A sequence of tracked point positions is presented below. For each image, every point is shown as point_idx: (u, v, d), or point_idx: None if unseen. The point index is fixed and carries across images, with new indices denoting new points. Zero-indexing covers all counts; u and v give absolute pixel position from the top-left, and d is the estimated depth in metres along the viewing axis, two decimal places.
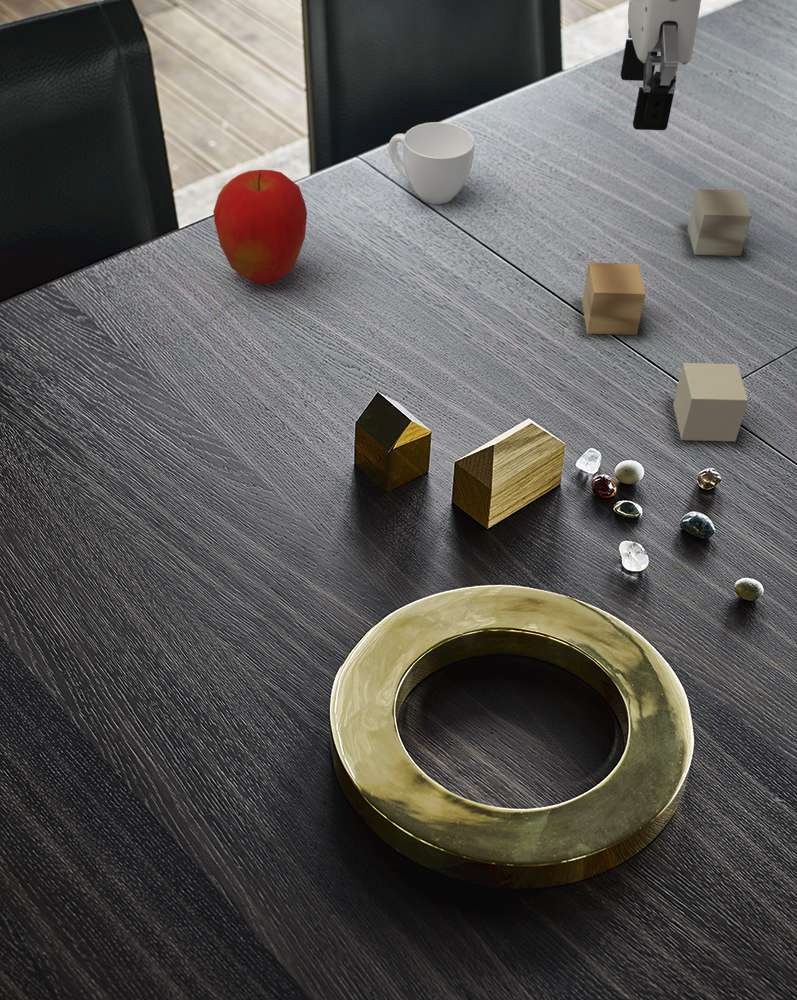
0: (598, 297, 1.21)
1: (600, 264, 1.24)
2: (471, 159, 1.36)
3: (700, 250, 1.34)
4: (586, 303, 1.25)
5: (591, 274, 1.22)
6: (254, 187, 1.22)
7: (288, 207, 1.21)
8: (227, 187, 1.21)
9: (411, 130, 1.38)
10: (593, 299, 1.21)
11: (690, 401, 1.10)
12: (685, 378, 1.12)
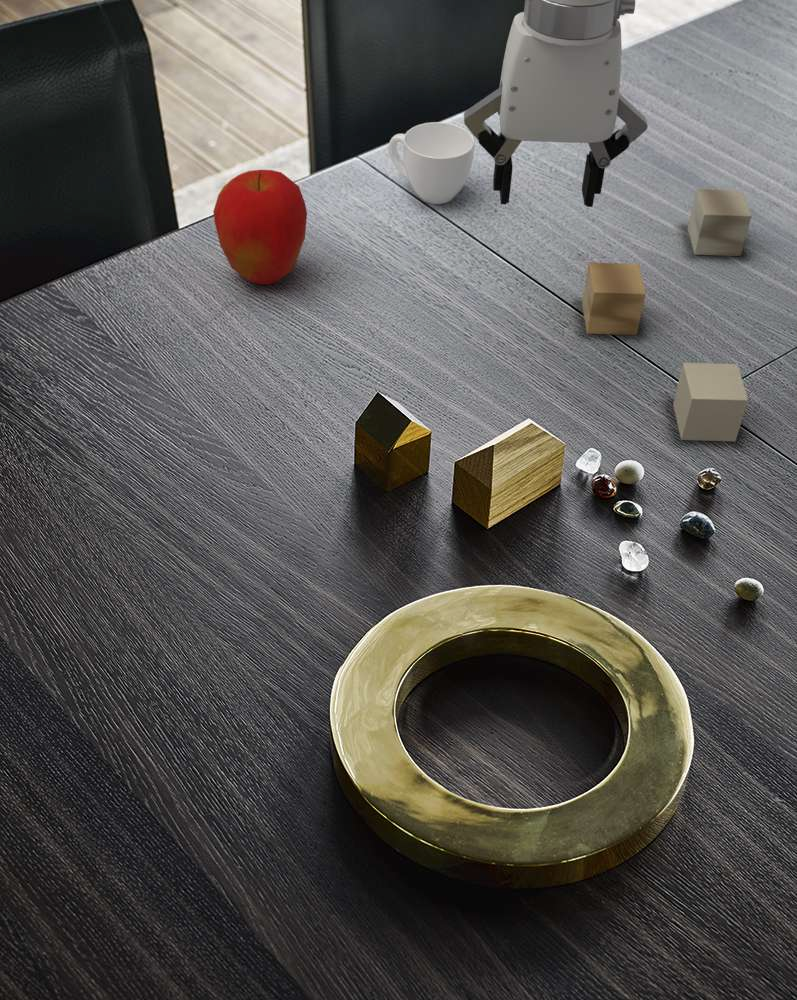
0: (598, 297, 1.21)
1: (600, 264, 1.24)
2: (471, 159, 1.36)
3: (700, 250, 1.34)
4: (586, 303, 1.25)
5: (591, 274, 1.22)
6: (254, 187, 1.22)
7: (288, 207, 1.21)
8: (227, 187, 1.21)
9: (411, 130, 1.38)
10: (593, 299, 1.21)
11: (690, 401, 1.10)
12: (685, 378, 1.12)
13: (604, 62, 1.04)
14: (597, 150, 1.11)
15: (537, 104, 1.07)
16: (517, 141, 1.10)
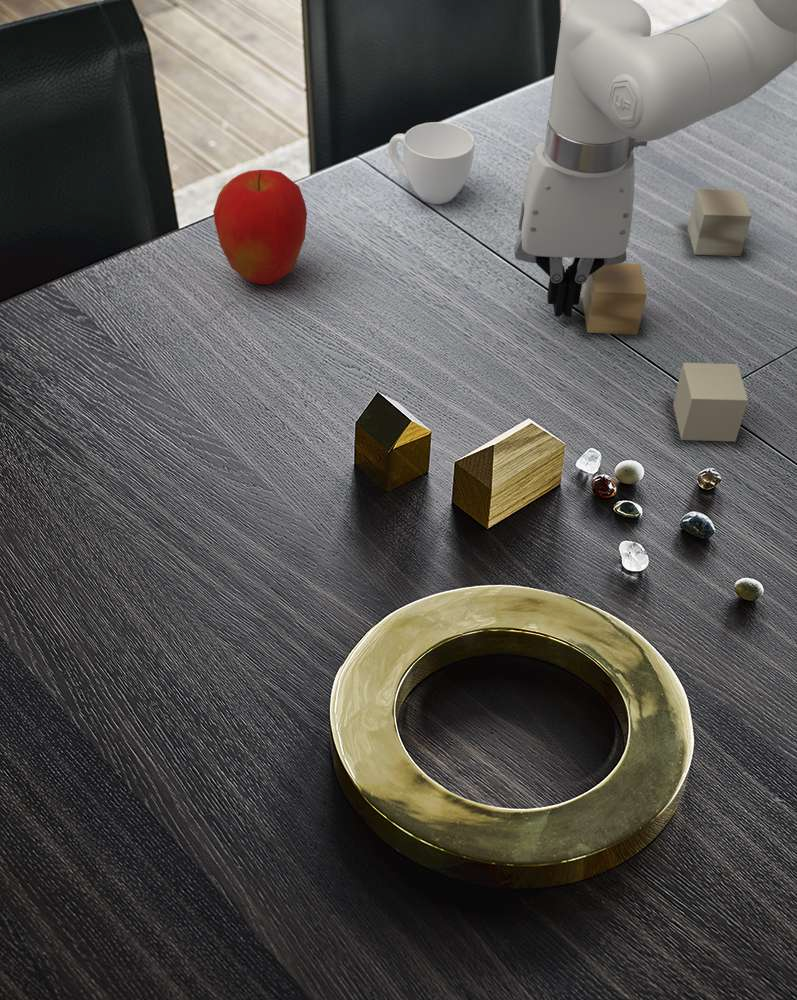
0: (599, 296, 1.21)
1: None
2: (471, 159, 1.36)
3: (700, 250, 1.34)
4: (587, 302, 1.24)
5: (593, 273, 1.22)
6: (254, 187, 1.22)
7: (288, 207, 1.21)
8: (227, 187, 1.21)
9: (411, 130, 1.38)
10: (594, 298, 1.21)
11: (690, 401, 1.10)
12: (685, 378, 1.12)
13: (619, 190, 1.13)
14: (584, 266, 1.20)
15: (556, 226, 1.15)
16: (559, 258, 1.19)
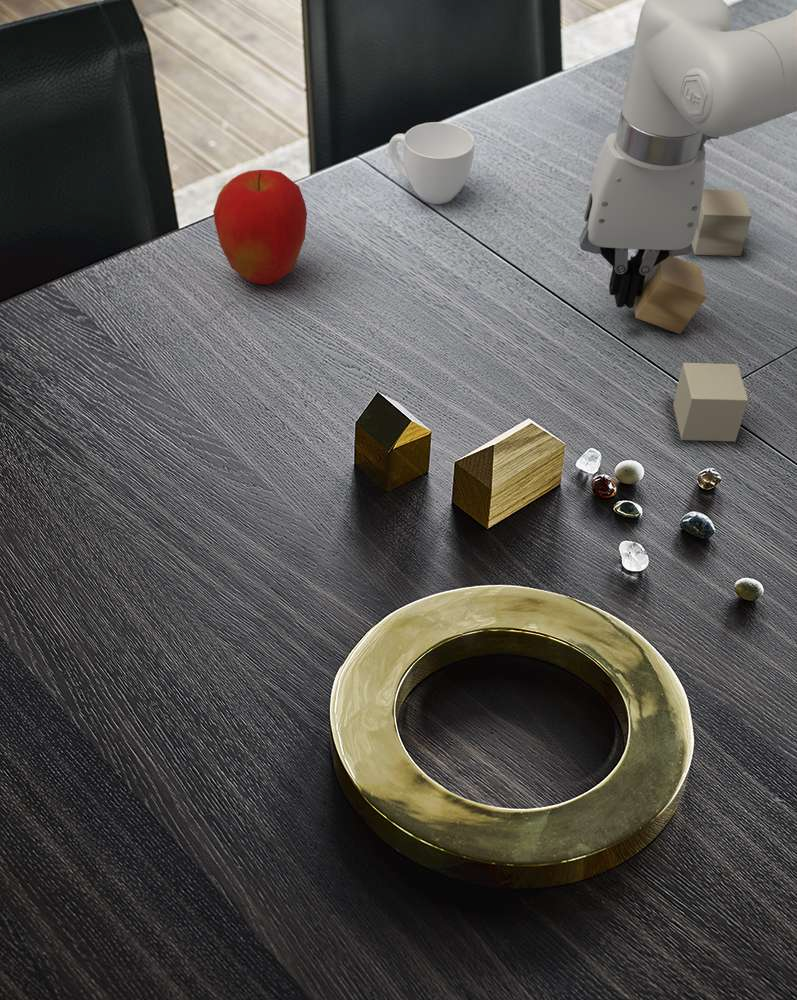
0: (663, 285, 1.20)
1: None
2: (471, 159, 1.36)
3: (700, 250, 1.34)
4: None
5: None
6: (254, 187, 1.22)
7: (288, 207, 1.21)
8: (227, 187, 1.21)
9: (411, 130, 1.38)
10: (657, 286, 1.20)
11: (690, 401, 1.10)
12: (685, 378, 1.12)
13: (689, 182, 1.13)
14: (649, 258, 1.20)
15: (625, 217, 1.15)
16: (624, 250, 1.19)
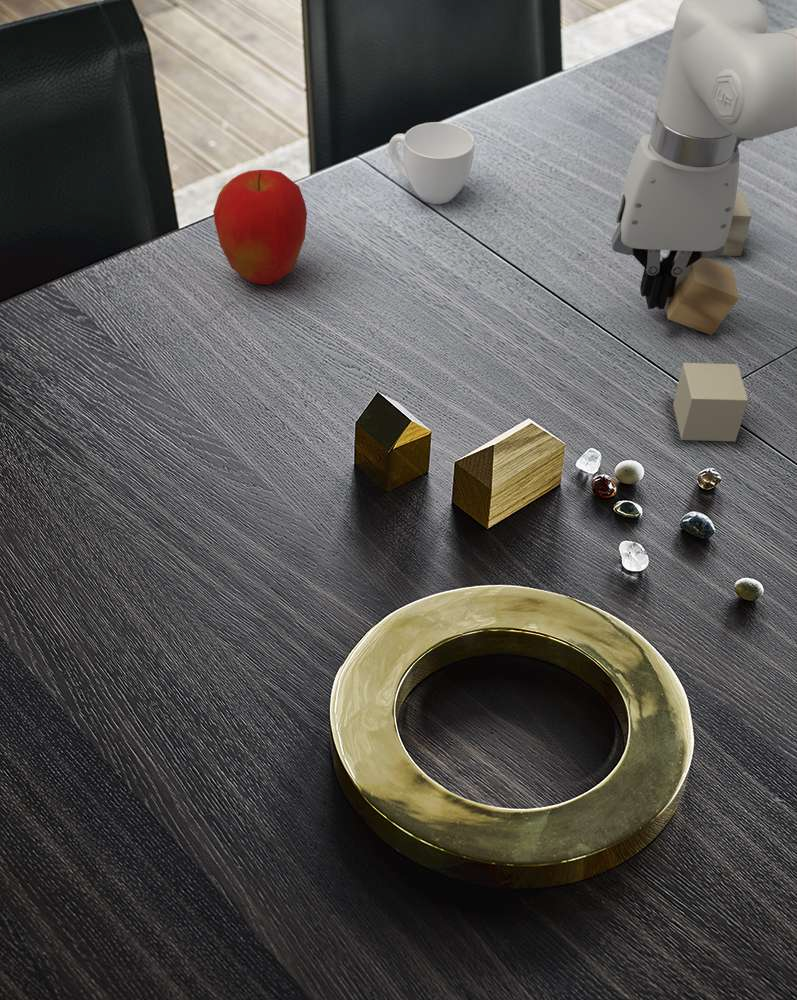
0: (696, 286, 1.20)
1: None
2: (471, 159, 1.36)
3: None
4: (674, 289, 1.24)
5: None
6: (254, 187, 1.22)
7: (288, 207, 1.21)
8: (227, 187, 1.21)
9: (411, 130, 1.38)
10: (690, 287, 1.20)
11: (690, 401, 1.10)
12: (685, 378, 1.12)
13: (723, 184, 1.13)
14: (681, 259, 1.20)
15: (658, 219, 1.15)
16: (657, 251, 1.19)
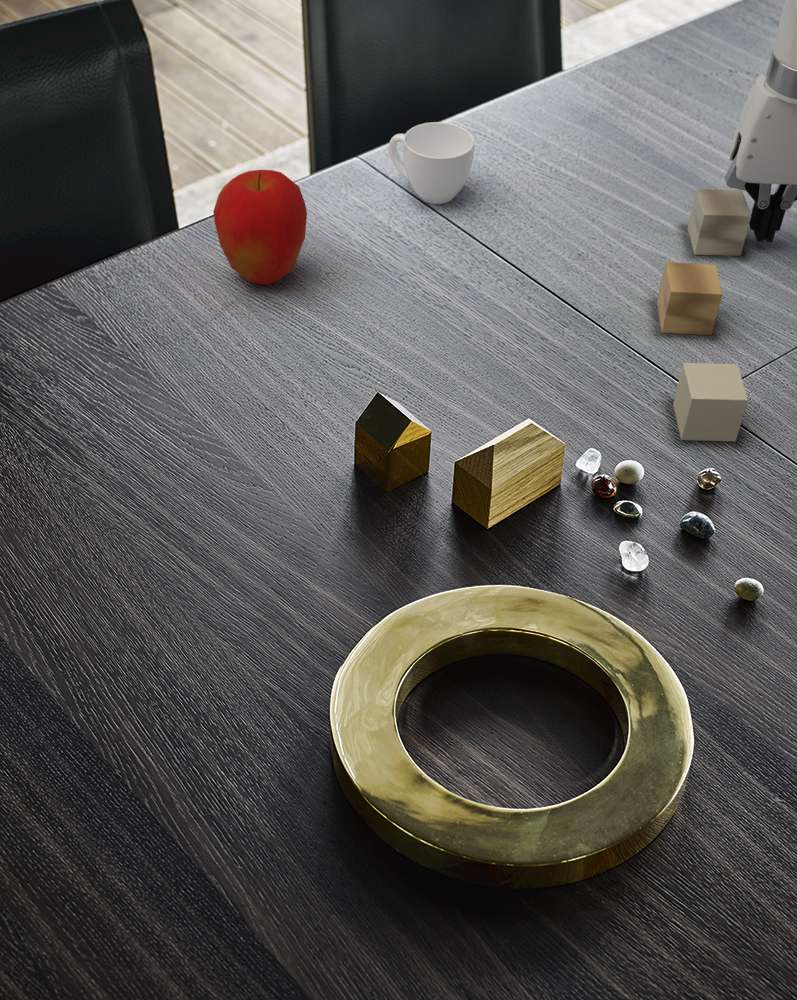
0: (674, 296, 1.21)
1: (677, 264, 1.24)
2: (471, 159, 1.36)
3: (700, 250, 1.34)
4: (661, 302, 1.25)
5: (668, 273, 1.23)
6: (254, 187, 1.22)
7: (288, 207, 1.21)
8: (227, 187, 1.21)
9: (411, 130, 1.38)
10: (669, 298, 1.21)
11: (690, 401, 1.10)
12: (685, 378, 1.12)
13: None
14: (790, 193, 1.30)
15: (772, 153, 1.26)
16: (768, 185, 1.29)
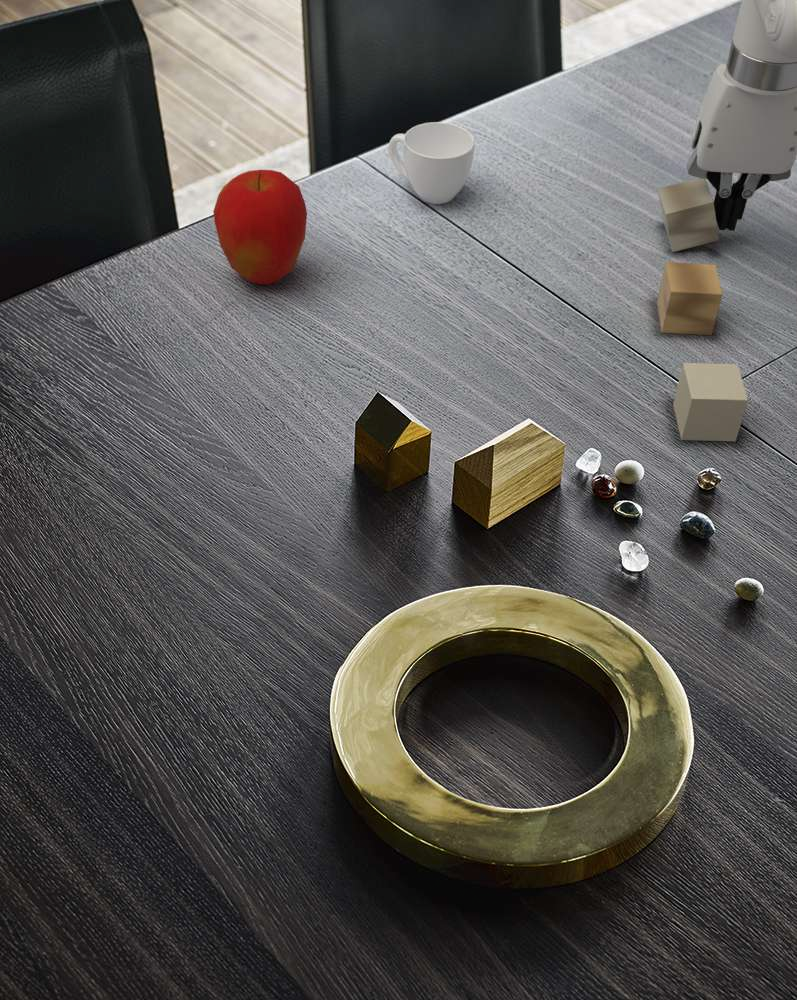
0: (674, 296, 1.21)
1: (677, 264, 1.24)
2: (471, 159, 1.36)
3: (677, 247, 1.34)
4: (661, 302, 1.25)
5: (668, 273, 1.23)
6: (254, 187, 1.22)
7: (288, 207, 1.21)
8: (227, 187, 1.21)
9: (411, 130, 1.38)
10: (669, 298, 1.21)
11: (690, 401, 1.10)
12: (685, 378, 1.12)
13: (793, 108, 1.23)
14: (751, 182, 1.30)
15: (732, 142, 1.25)
16: (729, 174, 1.29)
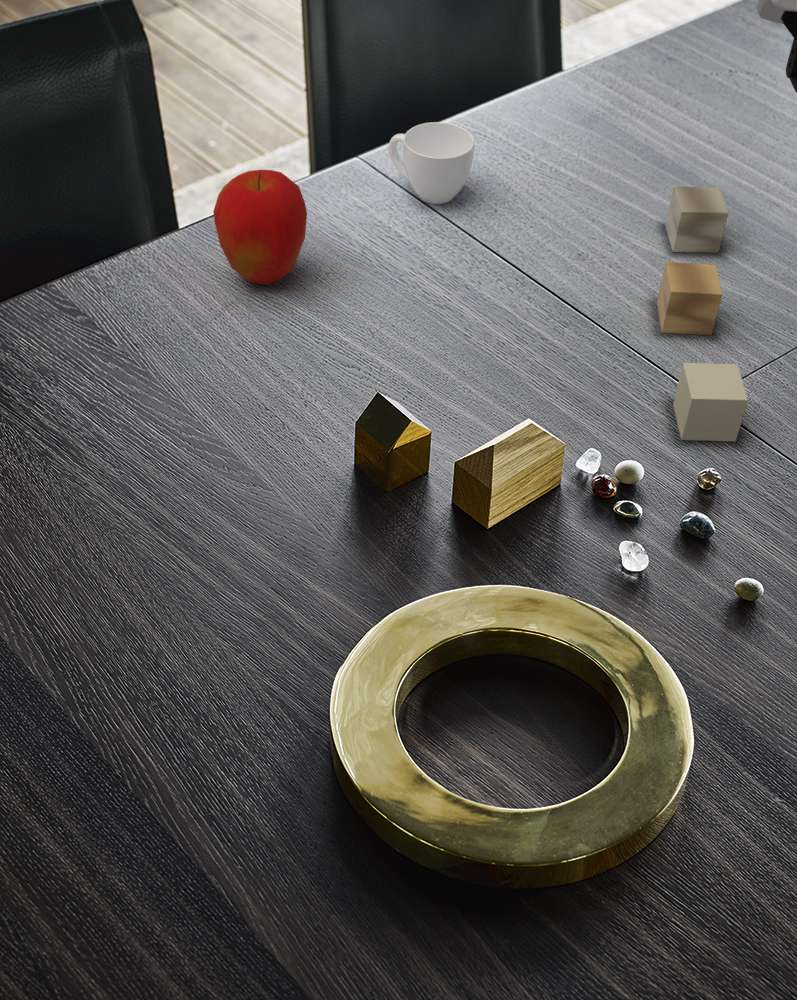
0: (674, 296, 1.21)
1: (677, 264, 1.24)
2: (471, 159, 1.36)
3: (678, 248, 1.34)
4: (661, 302, 1.25)
5: (668, 273, 1.23)
6: (254, 187, 1.22)
7: (288, 207, 1.21)
8: (227, 187, 1.21)
9: (411, 130, 1.38)
10: (669, 298, 1.21)
11: (690, 401, 1.10)
12: (685, 378, 1.12)
13: None
14: None
15: None
16: None
